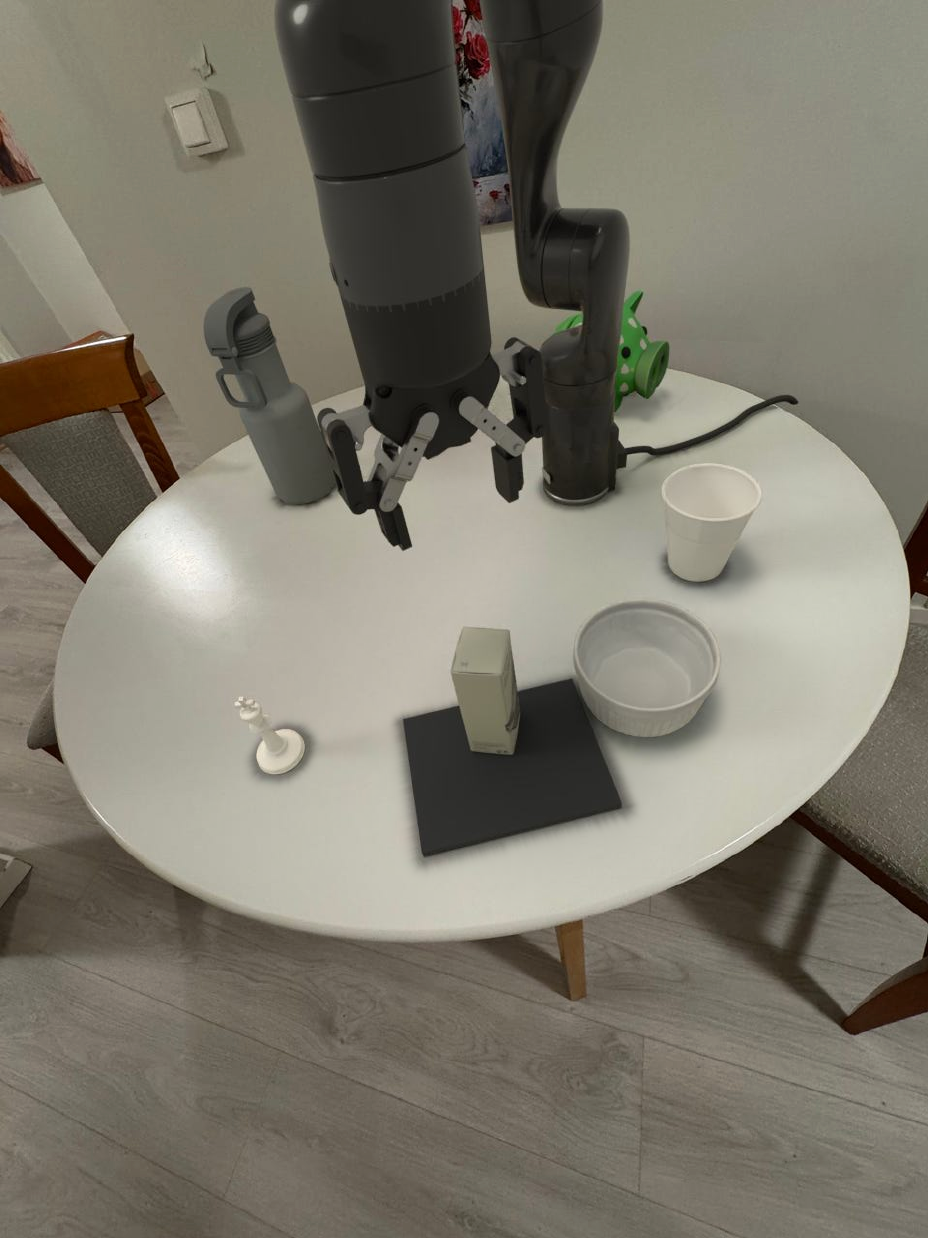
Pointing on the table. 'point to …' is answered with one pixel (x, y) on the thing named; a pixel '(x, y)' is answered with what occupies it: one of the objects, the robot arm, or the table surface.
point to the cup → (706, 516)
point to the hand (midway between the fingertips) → (456, 519)
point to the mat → (507, 772)
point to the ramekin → (645, 665)
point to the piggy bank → (633, 354)
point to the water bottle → (268, 399)
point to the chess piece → (271, 740)
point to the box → (487, 689)
